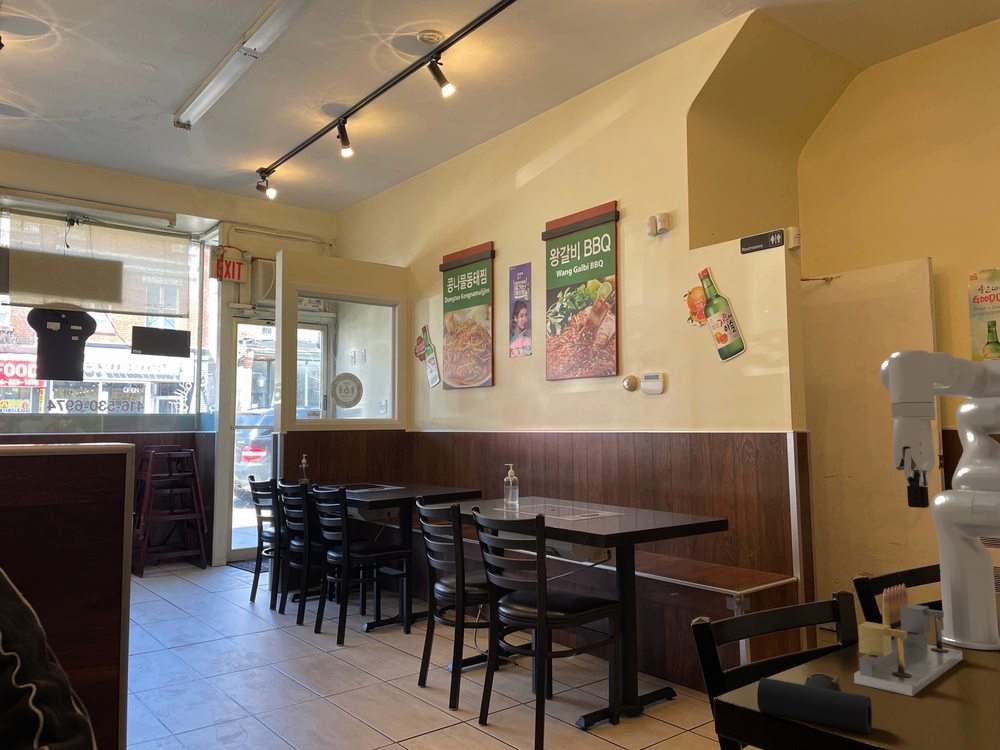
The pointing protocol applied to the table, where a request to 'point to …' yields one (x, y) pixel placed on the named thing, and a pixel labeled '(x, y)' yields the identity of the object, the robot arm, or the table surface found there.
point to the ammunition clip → (893, 606)
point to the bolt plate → (907, 666)
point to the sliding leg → (881, 641)
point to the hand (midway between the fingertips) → (918, 507)
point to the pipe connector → (816, 702)
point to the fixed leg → (921, 620)
